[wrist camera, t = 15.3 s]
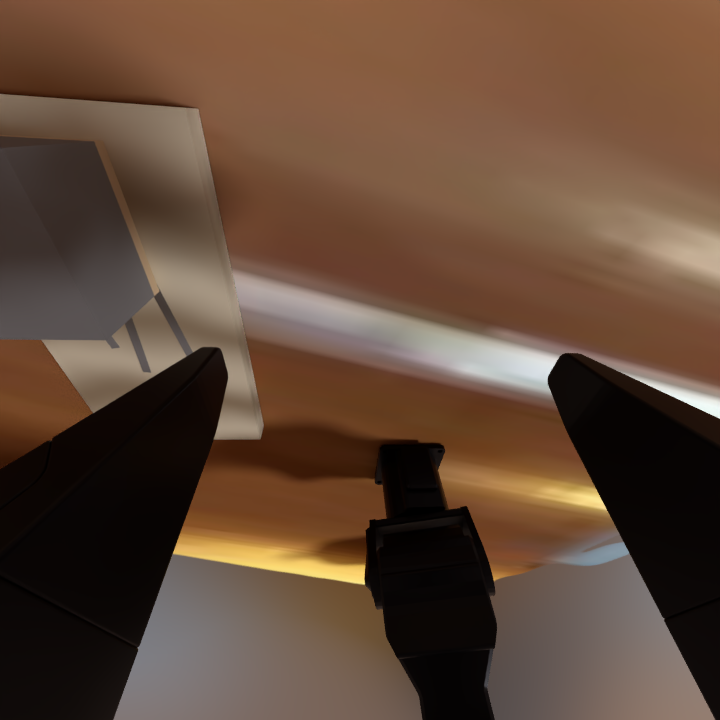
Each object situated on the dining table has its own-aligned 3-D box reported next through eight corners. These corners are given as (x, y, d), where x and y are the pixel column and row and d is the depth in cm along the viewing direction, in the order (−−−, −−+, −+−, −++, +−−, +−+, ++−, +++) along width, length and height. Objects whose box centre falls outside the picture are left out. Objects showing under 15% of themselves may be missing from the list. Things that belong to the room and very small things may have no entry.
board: (263, 425, 27) (260, 439, 26) (122, 425, 27) (112, 440, 25) (198, 108, 14) (184, 107, 13) (-97, 86, 13) (-142, 83, 12)
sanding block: (159, 291, 17) (106, 340, 14) (75, 289, 17) (-4, 339, 13) (103, 140, 13) (1, 147, 9) (-11, 134, 13) (-166, 139, 9)
